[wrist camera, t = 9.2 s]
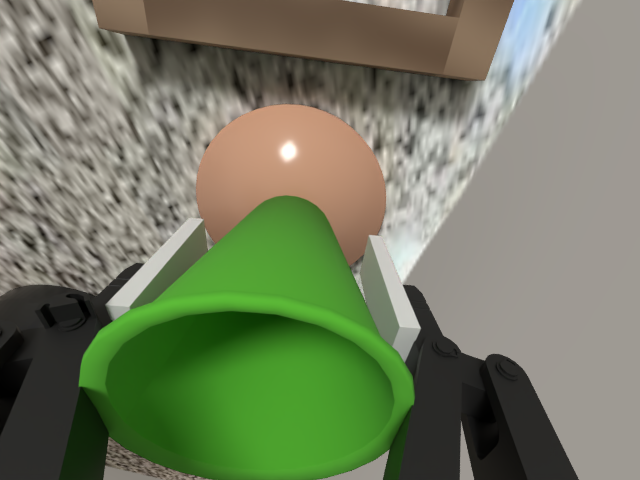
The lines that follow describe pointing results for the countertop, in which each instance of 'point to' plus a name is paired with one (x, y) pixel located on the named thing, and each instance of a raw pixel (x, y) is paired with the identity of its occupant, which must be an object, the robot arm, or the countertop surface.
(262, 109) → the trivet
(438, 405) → the robot arm
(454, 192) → the countertop surface
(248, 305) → the cup
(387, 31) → the frame
